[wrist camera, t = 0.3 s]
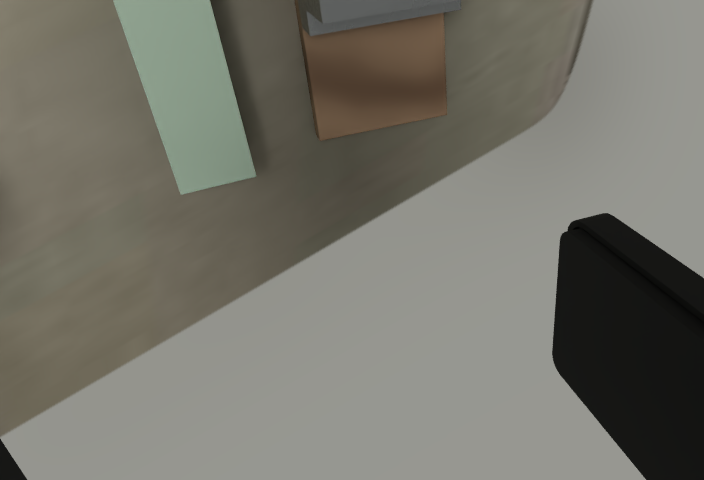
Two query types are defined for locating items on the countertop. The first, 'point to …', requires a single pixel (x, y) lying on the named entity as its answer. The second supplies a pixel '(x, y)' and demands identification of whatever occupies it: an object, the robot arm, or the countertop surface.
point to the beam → (188, 90)
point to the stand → (373, 62)
